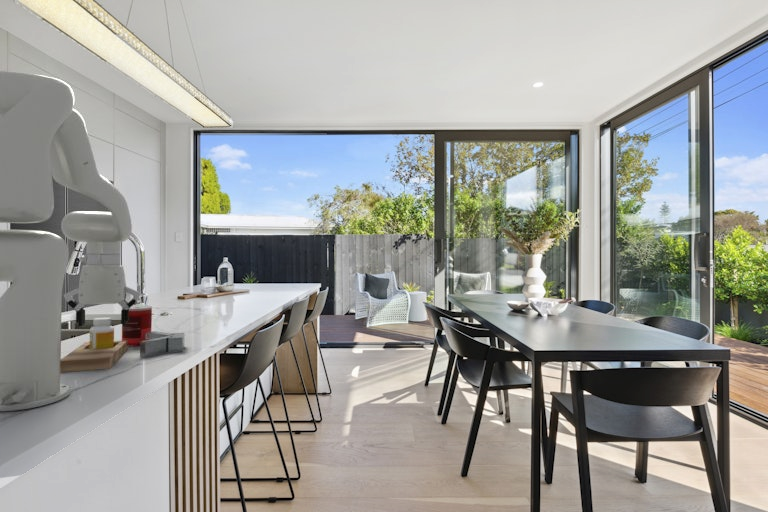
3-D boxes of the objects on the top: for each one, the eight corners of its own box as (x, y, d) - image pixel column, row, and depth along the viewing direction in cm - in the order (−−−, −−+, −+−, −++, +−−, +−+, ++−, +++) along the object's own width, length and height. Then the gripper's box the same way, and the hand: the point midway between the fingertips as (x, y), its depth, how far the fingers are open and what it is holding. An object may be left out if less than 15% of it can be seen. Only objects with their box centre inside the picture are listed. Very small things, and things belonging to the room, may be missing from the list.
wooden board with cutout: (109, 368, 100) (109, 358, 100) (58, 372, 96) (58, 361, 96) (127, 349, 118) (127, 340, 118) (85, 351, 115) (85, 342, 115)
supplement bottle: (118, 353, 114) (119, 317, 114) (103, 358, 109) (104, 320, 109) (100, 352, 115) (100, 316, 115) (84, 357, 109) (84, 319, 109)
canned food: (148, 339, 131) (149, 304, 131) (153, 344, 125) (154, 307, 125) (119, 342, 126) (120, 306, 126) (123, 347, 120) (124, 309, 120)
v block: (139, 357, 110) (139, 342, 110) (148, 344, 124) (149, 331, 124) (180, 355, 113) (181, 340, 113) (185, 343, 128) (185, 329, 128)
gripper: (59, 261, 105) (58, 329, 106) (138, 261, 111) (137, 326, 112) (69, 259, 112) (68, 323, 113) (143, 260, 118) (142, 320, 119)
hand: (103, 324), depth 112 cm, fingers open, 9 cm apart
